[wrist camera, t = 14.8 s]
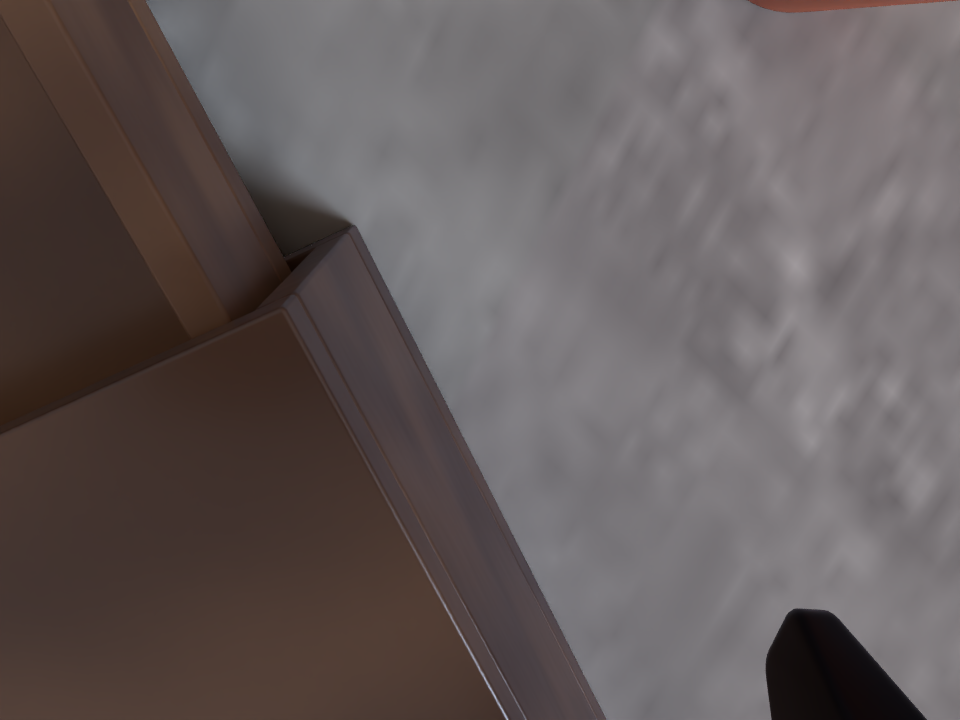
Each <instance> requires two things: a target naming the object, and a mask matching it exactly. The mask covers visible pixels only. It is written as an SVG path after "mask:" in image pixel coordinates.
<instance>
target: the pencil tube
mask: <svg viewBox="0 0 960 720" xmlns="http://www.w3.org/2000/svg"><path fill="white" fill-rule="evenodd" d="M748 1H750V2H751V3H753V4H756V5H758V6H760V7H763V8H766V9H770V10H773V11H779V12H787V13H788V12H811V11H824V10H837V9H850V8H864V7H877V6H890V5H903V4H917V3H930V2H943V1H956V0H748Z"/></svg>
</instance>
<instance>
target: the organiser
mask: <svg viewBox="0 0 960 720" xmlns="http://www.w3.org/2000/svg"><path fill="white" fill-rule="evenodd" d="M284 259H285V261H286V263H287V265H288V267H289V269H290V270H291V272H292V273H291V274H290V275H289V276H288V277H287V278H286V279H285V280H284V281H283V282H282V283H281V284H280V285H279V286H278V287H277V288H276V289H275V290H274V291H273V292H272V293H271V294H270V295H269V296H268V297H267V298H266V299H265V300H264V301H263V302H262V304H261V305H260V306H259V307H258V308H257V309H256V310H255V311H253V312H251V313H249V314H246V315H244V316H242V317H240V318H238V319H235V320H233V321H231V322H229V323H227V324H224V325H222V326H220V327H218V328H216V329H213V330H211V331H209V332H207V333H205V334H202V335H200V336H198V337H196V338H194V339H191V340H189V341H187V342H185V343H182V344H180V345H178V346H176V347H174V348H171V349H169V350H167V351H165V352H163V353H160V354H158V355H156V356H154V357H152V358H149V359H147V360H145V361H143V362H141V363H138V364H136V365H134V366H132V367H130V368H127V369H125V370H123V371H121V372H118V373H116V374H114V375H112V376H110V377H107V378H105V379H103V380H101V381H99V382H96V383H94V384H92V385H90V386H88V387H85V388H83V389H81V390H79V391H77V392H74V393H72V394H70V395H68V396H66V397H63V398H61V399H59V400H57V401H54V402H52V403H50V404H48V405H46V406H43V407H41V408H39V409H37V410H35V411H32V412H30V413H28V414H26V415H24V416H21V417H19V418H17V419H15V420H13V421H10V422H8V423H6V424H4V425H2V426H0V720H606V718H605V716H604V714H603V712H602V710H601V708H600V706H599V704H598V702H597V700H596V698H595V696H594V694H593V692H592V690H591V688H590V686H589V684H588V682H587V680H586V678H585V676H584V675H583V673H582V671H581V669H580V667H579V665H578V663H577V661H576V659H575V657H574V655H573V653H572V651H571V649H570V647H569V645H568V643H567V641H566V639H565V637H564V635H563V633H562V631H561V629H560V627H559V625H558V623H557V621H556V619H555V617H554V615H553V613H552V611H551V609H550V607H549V605H548V604H547V602H546V600H545V598H544V596H543V594H542V592H541V590H540V588H539V586H538V584H537V582H536V580H535V578H534V576H533V574H532V572H531V570H530V568H529V566H528V564H527V562H526V560H525V558H524V556H523V554H522V552H521V550H520V548H519V546H518V544H517V542H516V540H515V538H514V536H513V535H512V533H511V531H510V529H509V527H508V525H507V523H506V521H505V519H504V517H503V515H502V513H501V511H500V509H499V507H498V505H497V503H496V501H495V499H494V497H493V495H492V493H491V491H490V489H489V487H488V485H487V483H486V481H485V479H484V477H483V475H482V473H481V471H480V469H479V467H478V465H477V464H476V462H475V460H474V458H473V456H472V454H471V452H470V450H469V448H468V446H467V444H466V442H465V440H464V438H463V436H462V434H461V432H460V430H459V428H458V426H457V424H456V422H455V420H454V418H453V416H452V414H451V412H450V410H449V408H448V406H447V404H446V402H445V400H444V398H443V396H442V394H441V393H440V391H439V389H438V387H437V385H436V383H435V381H434V379H433V377H432V375H431V373H430V371H429V369H428V367H427V365H426V363H425V361H424V359H423V357H422V355H421V353H420V351H419V349H418V347H417V345H416V343H415V341H414V339H413V337H412V335H411V333H410V331H409V329H408V327H407V325H406V323H405V322H404V320H403V318H402V316H401V314H400V312H399V310H398V308H397V306H396V304H395V302H394V300H393V298H392V296H391V294H390V292H389V290H388V288H387V286H386V284H385V282H384V280H383V278H382V276H381V274H380V272H379V270H378V268H377V266H376V264H375V262H374V260H373V258H372V256H371V254H370V252H369V251H368V249H367V247H366V245H365V243H364V241H363V239H362V237H361V235H360V233H359V231H358V229H357V227H356V226H355V225H352V226H350V227H348V228H346V229H344V230H341V231H339V232H337V233H335V234H333V235H331V236H328V237H326V238H324V239H322V240H320V241H318V242H315V243H313V244H311V245H309V246H307V247H305V248H302V249H300V250H298V251H296V252H294V253H292V254H290V255H287V256H285V257H284Z"/></svg>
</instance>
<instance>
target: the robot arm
mask: <svg viewBox="0 0 960 720" xmlns="http://www.w3.org/2000/svg"><path fill="white" fill-rule="evenodd" d="M766 679H767V687H768V695H769V702H770V710H771V718H772V720H927V719H926V718H925V717H924V716H923V715H922V713H921V712H920V711H919V710H918V709H917V708H916V707H915V705H914V704H913V703H912V702H911V701H910V700H909V699H908V697H907V696H906V695H905V694H904V693H903V692H902V691H901V689H900V688H899V687H898V686H897V685H896V684H895V683H894V681H893V680H892V679H891V678H890V677H889V676H888V675H887V673H886V672H885V671H884V670H883V669H882V668H881V667H880V665H879V664H878V663H877V662H876V661H875V660H874V659H873V657H872V656H871V655H870V654H869V653H868V652H867V651H866V649H865V648H864V647H863V646H862V645H861V644H860V643H859V642H858V640H857V639H856V638H855V637H854V636H853V635H852V634H851V632H850V631H849V630H848V629H847V628H846V627H845V626H844V624H843V623H842V622H841V621H840V620H839V619H838V618H837V617H836V616H835V615H834V614H832V613H830V612H829V611H825V610H814V609H793V610H792V611H790V612H789V613H788V614H787V616H786V617H785V619H784V621H783V623H782V625H781V627H780V629H779V631H778V633H777V635H776V637H775V639H774V641H773V643H772V645H771V647H770V649H769V651H768V654H767V658H766Z"/></svg>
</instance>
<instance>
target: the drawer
mask: <svg viewBox="0 0 960 720" xmlns="http://www.w3.org/2000/svg"><path fill="white" fill-rule="evenodd" d="M291 273H292V272H291V270H290V269H289V267H288V265H287V263H286V261H285V259H284V257H283V256H282V254H281V252H280V250H279V248H278V246H277V244H276V243H275V241H274V239H273V237H272V235H271V233H270V231H269V230H268V228H267V226H266V224H265V222H264V220H263V218H262V217H261V215H260V213H259V211H258V209H257V207H256V205H255V204H254V202H253V200H252V198H251V196H250V194H249V192H248V191H247V189H246V187H245V185H244V183H243V181H242V179H241V178H240V176H239V174H238V172H237V170H236V168H235V166H234V165H233V163H232V161H231V159H230V157H229V155H228V153H227V152H226V150H225V148H224V146H223V144H222V142H221V140H220V139H219V137H218V135H217V133H216V131H215V129H214V127H213V126H212V124H211V122H210V120H209V118H208V116H207V114H206V113H205V111H204V109H203V107H202V105H201V103H200V101H199V99H198V98H197V96H196V94H195V92H194V90H193V88H192V86H191V85H190V83H189V81H188V79H187V77H186V75H185V73H184V72H183V70H182V68H181V66H180V64H179V62H178V60H177V59H176V57H175V55H174V53H173V51H172V49H171V47H170V46H169V44H168V42H167V40H166V38H165V36H164V34H163V33H162V31H161V29H160V27H159V25H158V23H157V21H156V20H155V18H154V16H153V14H152V12H151V10H150V8H149V7H148V5H147V3H146V1H145V0H0V426H2V425H4V424H6V423H8V422H10V421H13V420H15V419H17V418H19V417H21V416H24V415H26V414H28V413H30V412H32V411H35V410H37V409H39V408H41V407H43V406H46V405H48V404H50V403H52V402H54V401H57V400H59V399H61V398H63V397H66V396H68V395H70V394H72V393H74V392H77V391H79V390H81V389H83V388H85V387H88V386H90V385H92V384H94V383H96V382H99V381H101V380H103V379H105V378H107V377H110V376H112V375H114V374H116V373H118V372H121V371H123V370H125V369H127V368H130V367H132V366H134V365H136V364H138V363H141V362H143V361H145V360H147V359H149V358H152V357H154V356H156V355H158V354H160V353H163V352H165V351H167V350H169V349H171V348H174V347H176V346H178V345H180V344H182V343H185V342H187V341H189V340H191V339H194V338H196V337H198V336H200V335H202V334H205V333H207V332H209V331H211V330H213V329H216V328H218V327H220V326H222V325H224V324H227V323H229V322H231V321H233V320H235V319H238V318H240V317H242V316H244V315H246V314H249V313H251V312H253V311H255V310H256V309H257V308H258V307H259V306H260V305H261V304H262V302H263V301H264V300H265V299H266V298H267V297H268V296H269V295H270V294H271V293H272V292H273V291H274V290H275V289H276V288H277V287H278V286H279V285H280V284H281V283H282V282H283V281H284V280H285V279H286V278H287V277H288V276H289V275H290V274H291Z"/></svg>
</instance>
